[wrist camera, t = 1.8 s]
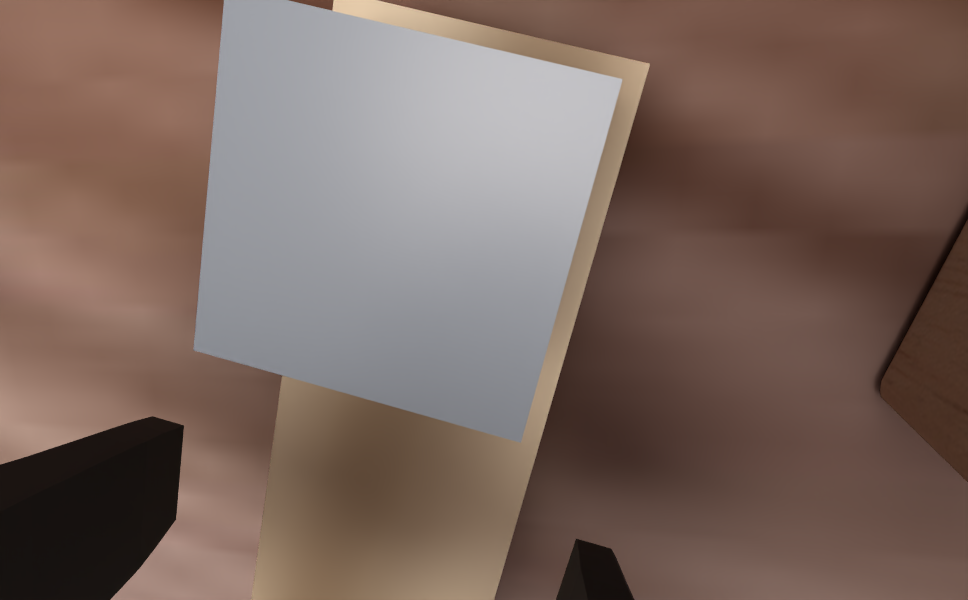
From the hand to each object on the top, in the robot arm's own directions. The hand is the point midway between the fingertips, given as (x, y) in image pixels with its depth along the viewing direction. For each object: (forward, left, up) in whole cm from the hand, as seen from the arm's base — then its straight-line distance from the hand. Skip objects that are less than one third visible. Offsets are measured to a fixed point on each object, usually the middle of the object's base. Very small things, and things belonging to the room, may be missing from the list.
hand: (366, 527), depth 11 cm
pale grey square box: (0, -6, -1) cm, 6 cm away
